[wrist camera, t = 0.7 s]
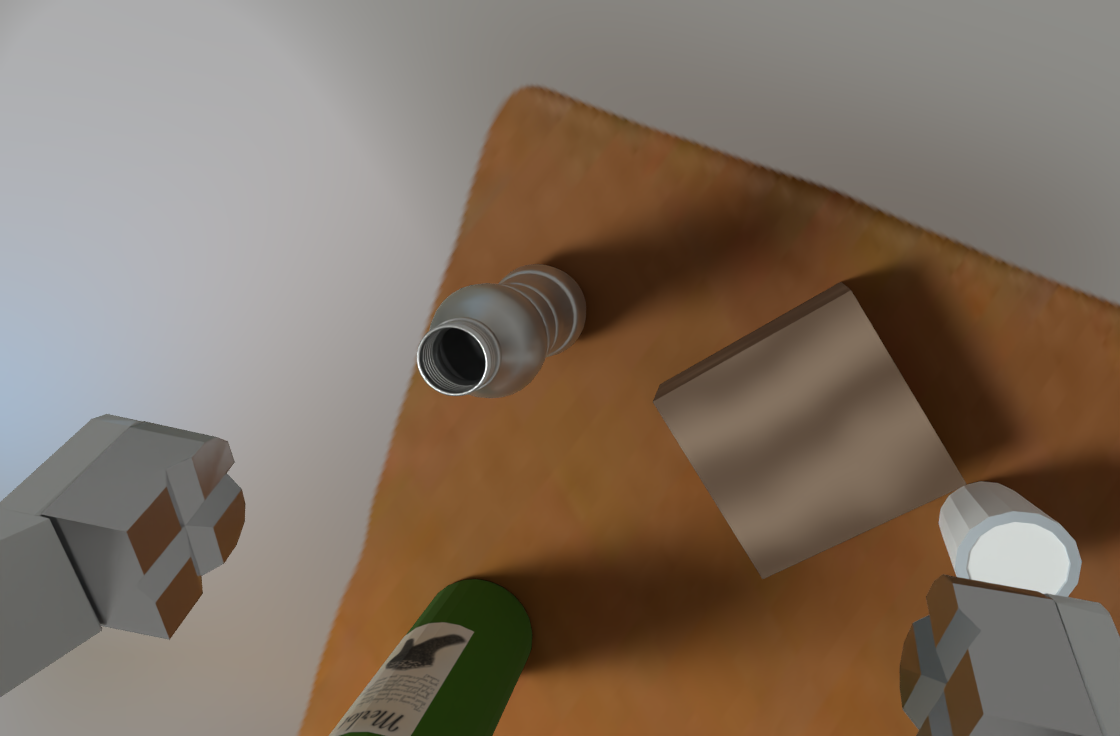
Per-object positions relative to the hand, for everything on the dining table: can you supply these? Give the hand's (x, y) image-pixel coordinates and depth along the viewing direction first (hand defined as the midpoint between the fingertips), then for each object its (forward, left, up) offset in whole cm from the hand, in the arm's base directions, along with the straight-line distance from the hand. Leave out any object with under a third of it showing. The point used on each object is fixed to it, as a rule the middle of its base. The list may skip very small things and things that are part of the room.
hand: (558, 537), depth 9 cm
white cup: (-25, -6, -47) cm, 54 cm away
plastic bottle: (+3, +12, -47) cm, 49 cm away
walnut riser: (-13, +1, -47) cm, 49 cm away
